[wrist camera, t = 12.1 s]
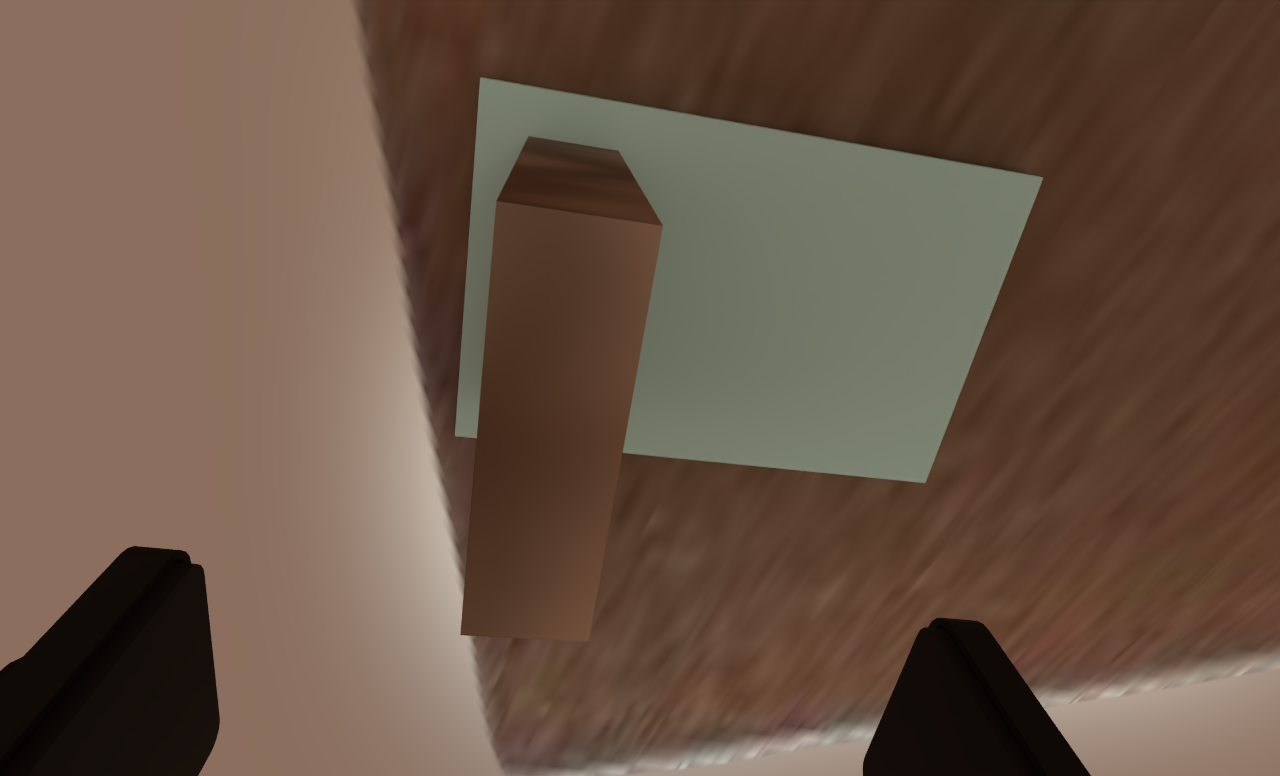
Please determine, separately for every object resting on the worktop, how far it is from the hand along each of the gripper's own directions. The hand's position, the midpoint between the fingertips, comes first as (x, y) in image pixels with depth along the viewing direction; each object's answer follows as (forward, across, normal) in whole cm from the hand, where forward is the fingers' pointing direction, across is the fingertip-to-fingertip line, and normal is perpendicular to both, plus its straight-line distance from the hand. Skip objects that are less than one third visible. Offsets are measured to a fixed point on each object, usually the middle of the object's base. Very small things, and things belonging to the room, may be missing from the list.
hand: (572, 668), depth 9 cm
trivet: (+19, -6, 0) cm, 20 cm away
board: (+18, +1, 0) cm, 18 cm away
